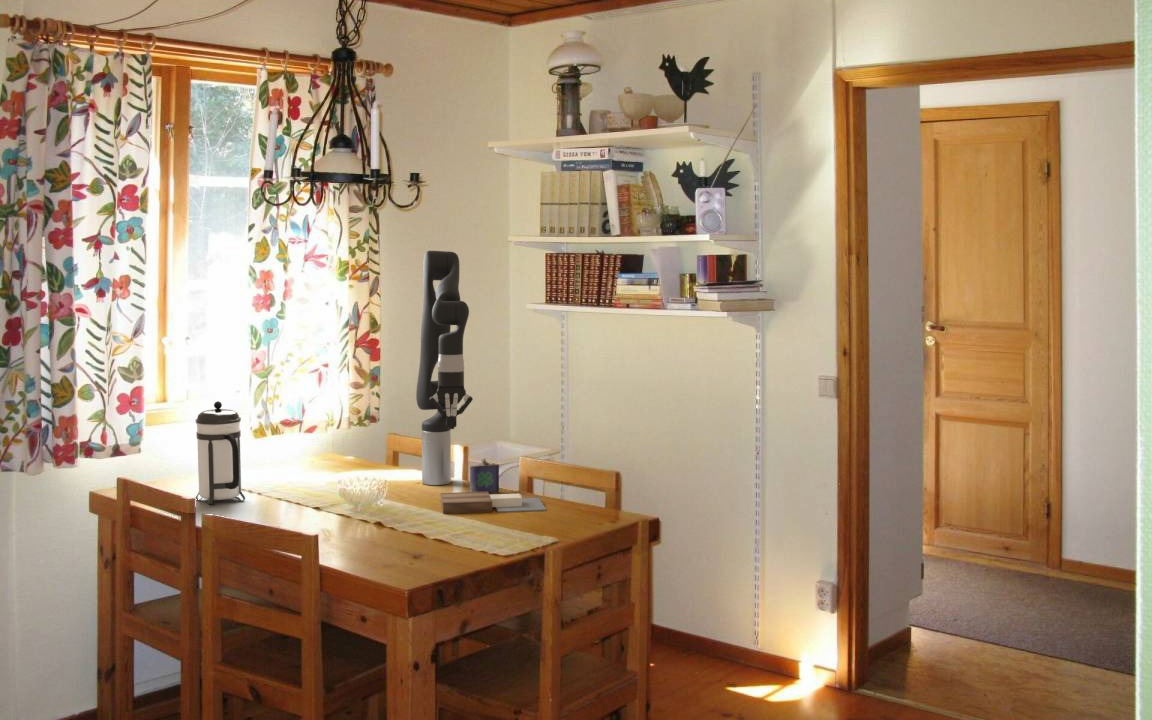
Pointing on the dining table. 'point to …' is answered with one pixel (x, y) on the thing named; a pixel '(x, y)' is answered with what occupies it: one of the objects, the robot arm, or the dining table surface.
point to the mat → (524, 506)
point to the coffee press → (219, 454)
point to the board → (466, 502)
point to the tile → (506, 500)
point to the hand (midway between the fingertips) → (451, 428)
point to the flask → (484, 477)
